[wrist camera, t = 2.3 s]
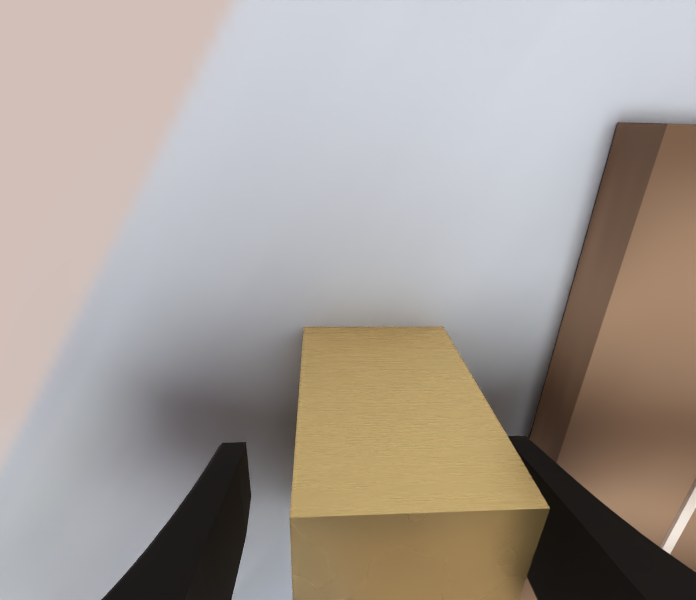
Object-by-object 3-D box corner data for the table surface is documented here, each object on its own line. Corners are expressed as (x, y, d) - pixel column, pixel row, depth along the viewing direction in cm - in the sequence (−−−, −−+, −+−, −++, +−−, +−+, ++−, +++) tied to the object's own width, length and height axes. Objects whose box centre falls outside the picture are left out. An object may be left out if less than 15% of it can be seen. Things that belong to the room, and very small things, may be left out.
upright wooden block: (417, 497, 15) (476, 724, 9) (306, 500, 14) (298, 737, 9) (442, 325, 12) (550, 508, 6) (303, 325, 11) (289, 517, 6)
